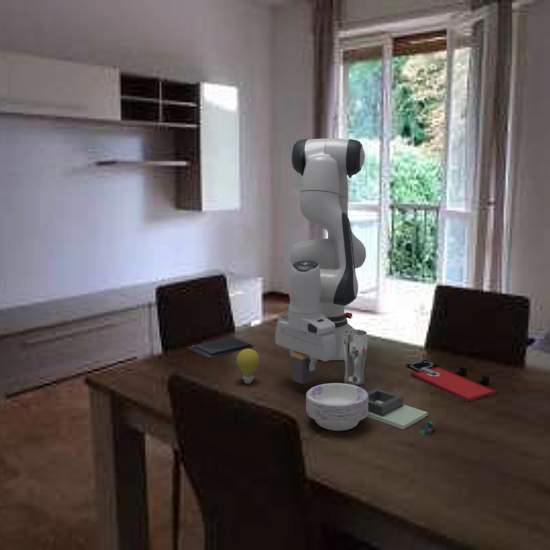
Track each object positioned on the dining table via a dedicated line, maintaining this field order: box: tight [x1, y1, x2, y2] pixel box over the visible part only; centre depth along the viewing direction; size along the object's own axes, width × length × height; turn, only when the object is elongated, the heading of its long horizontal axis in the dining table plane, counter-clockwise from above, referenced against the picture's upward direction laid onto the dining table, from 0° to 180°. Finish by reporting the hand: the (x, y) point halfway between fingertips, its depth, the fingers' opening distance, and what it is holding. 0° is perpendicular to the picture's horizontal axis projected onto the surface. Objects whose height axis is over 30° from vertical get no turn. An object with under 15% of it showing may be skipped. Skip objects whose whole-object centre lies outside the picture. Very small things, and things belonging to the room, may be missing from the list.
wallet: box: [186, 336, 255, 359], centre depth 208 cm, size 20×2×15 cm
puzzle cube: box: [417, 421, 436, 436], centre depth 143 cm, size 4×3×2 cm, turn 142°
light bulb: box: [236, 348, 260, 384], centre depth 174 cm, size 7×7×10 cm
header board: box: [366, 387, 428, 431], centre depth 155 cm, size 11×22×4 cm, turn 45°
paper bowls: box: [305, 382, 369, 432], centre depth 147 cm, size 15×15×8 cm
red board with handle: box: [405, 359, 498, 402], centre depth 177 cm, size 30×3×15 cm
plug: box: [291, 352, 316, 384], centre depth 167 cm, size 5×4×8 cm
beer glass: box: [343, 328, 368, 386], centre depth 174 cm, size 7×7×15 cm
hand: (303, 367), depth 167 cm, fingers closed on plug, 4 cm apart
